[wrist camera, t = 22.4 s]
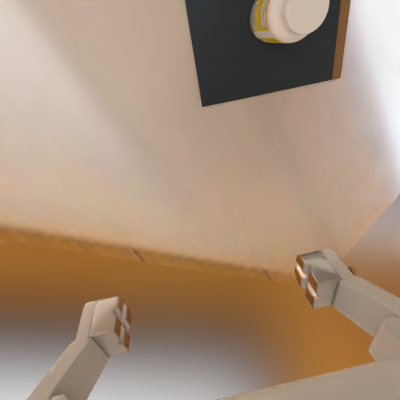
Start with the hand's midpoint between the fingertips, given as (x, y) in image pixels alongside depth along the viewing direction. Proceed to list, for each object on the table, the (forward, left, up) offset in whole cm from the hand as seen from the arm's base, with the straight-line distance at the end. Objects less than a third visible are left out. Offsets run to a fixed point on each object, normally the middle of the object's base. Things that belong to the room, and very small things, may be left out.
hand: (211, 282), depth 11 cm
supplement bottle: (+13, +9, -30) cm, 34 cm away
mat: (+13, +9, -30) cm, 34 cm away
